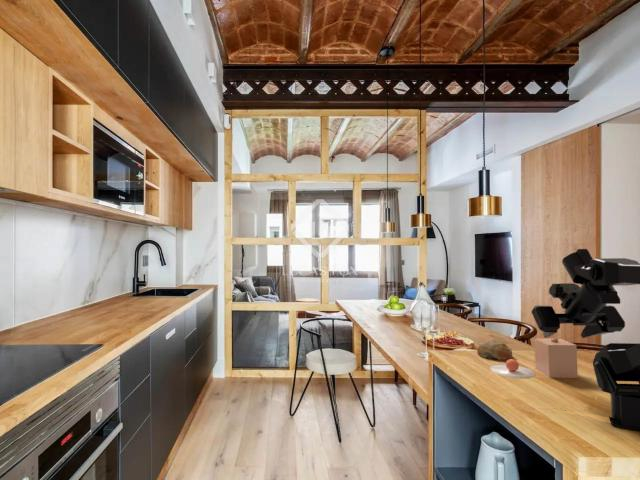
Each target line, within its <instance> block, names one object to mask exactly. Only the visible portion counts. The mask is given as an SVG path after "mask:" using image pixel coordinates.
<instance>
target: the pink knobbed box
mask: <svg viewBox="0 0 640 480" xmlns="http://www.w3.org/2000/svg"><path fill="white" fill-rule="evenodd" d="M533 340H534V361H535V362H534V363H535V364H534V365H535V366H534V367H535V370H537V371H538V372H540V373H542V374H543V375H544V376H546V377H547V378H549V379H550V378H553V379H554V378H556V379H557V378H559V379H561V378H562V379H578V378H579V376H578V375H579V373H578V372H579V371H578V356H577V355H578V354H577V353H578V350H577V348H578V346H577V344H575V343H572V342H570V341H567V340H565V339H563V338H556V337H551V338H550V337H548V338H545V337H544V338H540V337H537V338H534V339H533Z"/></svg>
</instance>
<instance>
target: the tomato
mask: <svg viewBox="0 0 640 480" xmlns="http://www.w3.org/2000/svg"><path fill="white" fill-rule="evenodd" d="M505 365H506V367H507V369H509V370H510V371H516V370H518V368H519V366H520V363H518V361H517V360H516V359H515V358H514V359H509V360H507V361H505Z"/></svg>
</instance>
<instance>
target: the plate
mask: <svg viewBox="0 0 640 480" xmlns="http://www.w3.org/2000/svg"><path fill="white" fill-rule="evenodd" d="M490 370H491V372H492V373H495V374H496V375H499V376H502V377H507V378H513V379H531V378H534V377H535V376H536V375H537V374H536V371H534V370H532V369H530V368H528V367H524V366H520V365H519V368H518V370H516V371H510V370H509V369H507V367H506V364H496V365H495V364H494V365H492V366H490Z"/></svg>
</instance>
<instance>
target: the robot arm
mask: <svg viewBox="0 0 640 480" xmlns="http://www.w3.org/2000/svg"><path fill="white" fill-rule="evenodd" d="M561 263H562V265H563V266H564V269H565V270H566V272H567V273H568V275H569V277H570V279H571V280H572V282H573V283H569V282H567V283H563V282H562V283H552V284H551V286H550V287H549V289H548V293H549V295H551V297H552V298H554V299H559V300H560V301H561V303H560V306H561V308H562V309H564V310H565V311H564V313H556V311H555V309H554V308H553V307H554V306H551V305H534V307H533V308H532V310H531V314H532V316H533V318H534V321H535V323H536V325H537V327H538V329H539V330H540V331H542V335H543V337H544V338H550V337H551V336H553V335H556V334H557V333H558V330H559V329H560V328H561V325H573V326H584V328H583V329H582V331H581V333H580V337H581V338H582V339H588V338H590V337H596V336H601V335H606V334H611V333H615V332H621V331H623V329H624V328H626V321H625V319H624V318H623V317H622V315H621V314H620V312H619V311H618V310H617V308H616V306H613V305H620V304H621V298H620V296H619V295H618V291H617V290H616V289H615V287H616V286H620V287H621V286H632V285H633V286H635V285H640V262H639V261H637V260H634V259H629V258H627V257H626V258H625V257H621V258H620V257H618V258H615V257H614V258H611V257H610V258H609V257H608V258H593V257H592V256H591V254H590V251H589V250H588V248H578V249H577V250H576V251H575V252H572V253H569V254H567V255H566V256H564V257H563V258H562V262H561ZM579 285H580V286H579ZM614 286H615V287H614ZM609 304H610V305H609ZM597 350H598V351H597V352H596V353H595V354H594V359H593V361H592V366H593V370H594V374H595V378H596V381H597V386H598V388H600V389H601V392H603V393H608V394H610V408H611V416H608V419H609V421H610V425H611V426H613V427H617V428H623V429H628V430H633V431H637V432H640V343H635V342H633V343H631V342H630V343H629V342H628V343H625V342H623V343H622V342H617V343H615V342H613V343H612V342H611V343H608V344H606V345H605V346H604V347H598V348H597ZM618 382H632V383H618ZM633 382H634V383H633ZM636 382H637V383H636Z"/></svg>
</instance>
